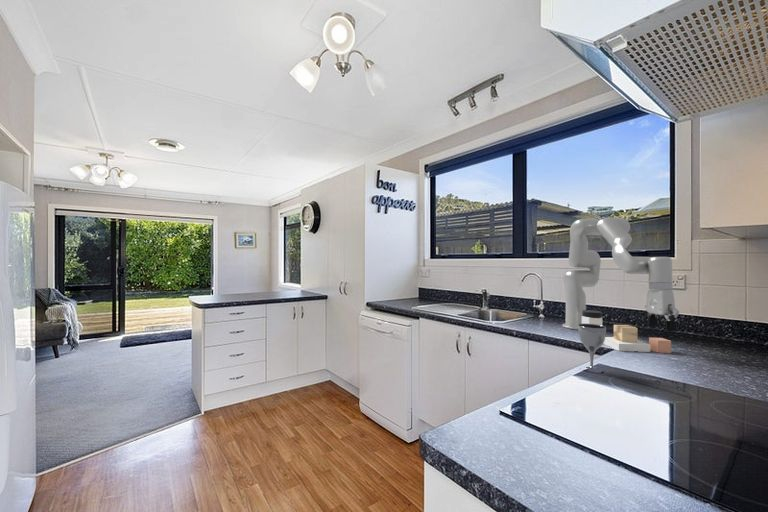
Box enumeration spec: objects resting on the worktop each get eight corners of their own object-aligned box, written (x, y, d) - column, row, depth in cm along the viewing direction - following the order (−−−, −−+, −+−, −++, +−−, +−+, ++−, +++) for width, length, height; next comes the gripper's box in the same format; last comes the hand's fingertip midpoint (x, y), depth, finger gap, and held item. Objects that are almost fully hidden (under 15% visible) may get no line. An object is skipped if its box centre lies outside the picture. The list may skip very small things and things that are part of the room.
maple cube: (613, 338, 144) (613, 324, 144) (628, 338, 143) (628, 325, 143) (622, 342, 138) (622, 327, 138) (637, 342, 137) (637, 328, 137)
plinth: (602, 343, 147) (602, 336, 147) (631, 344, 146) (631, 337, 146) (618, 351, 135) (618, 343, 135) (650, 352, 134) (650, 344, 134)
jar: (599, 338, 156) (599, 313, 156) (579, 335, 162) (579, 311, 162) (604, 335, 162) (604, 311, 162) (585, 333, 168) (585, 309, 168)
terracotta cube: (649, 349, 138) (649, 337, 138) (662, 349, 138) (662, 337, 138) (657, 352, 133) (657, 340, 133) (671, 353, 133) (671, 340, 133)
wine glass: (580, 372, 110) (581, 327, 110) (576, 365, 117) (576, 322, 117) (608, 375, 107) (609, 329, 107) (602, 367, 114) (602, 324, 114)
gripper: (636, 285, 145) (637, 324, 144) (666, 288, 127) (667, 332, 127) (655, 285, 144) (656, 324, 143) (687, 288, 127) (688, 333, 126)
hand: (661, 328), depth 135 cm, fingers open, 9 cm apart
